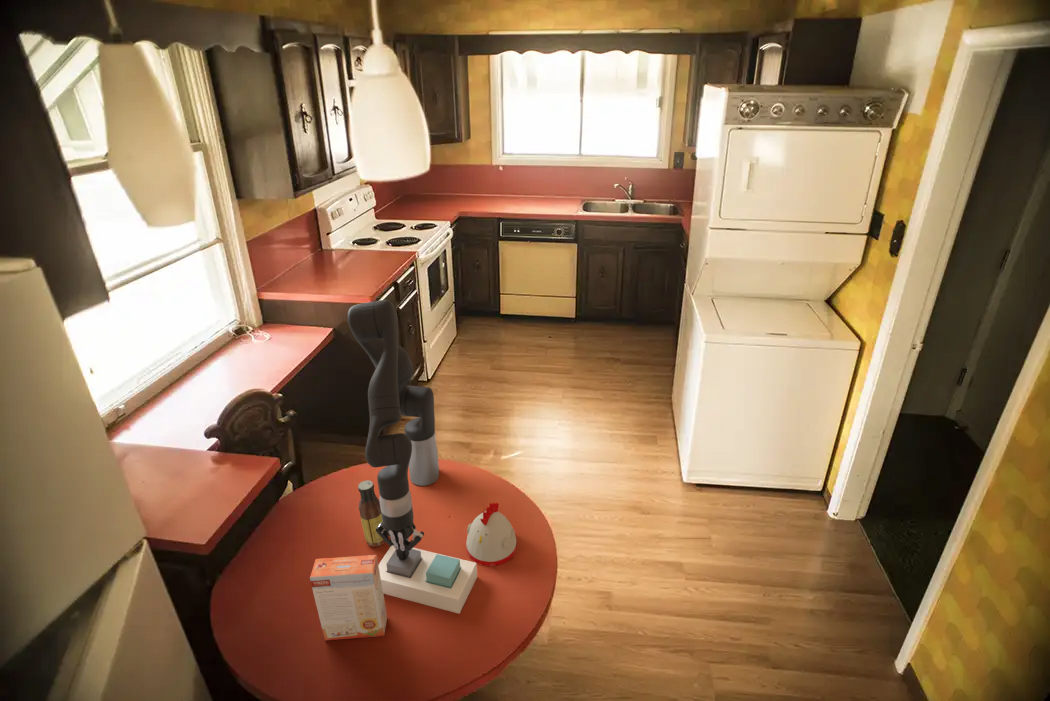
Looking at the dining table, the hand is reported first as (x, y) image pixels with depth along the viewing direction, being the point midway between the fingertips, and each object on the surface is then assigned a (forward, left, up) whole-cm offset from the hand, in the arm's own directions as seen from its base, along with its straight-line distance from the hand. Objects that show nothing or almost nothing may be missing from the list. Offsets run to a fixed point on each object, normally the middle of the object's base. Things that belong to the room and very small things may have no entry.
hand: (403, 557), depth 153 cm
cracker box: (+17, -5, -8) cm, 19 cm away
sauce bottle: (-10, -15, -8) cm, 19 cm away
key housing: (0, +5, -8) cm, 9 cm away
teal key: (0, +11, -4) cm, 12 cm away
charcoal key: (0, 0, -4) cm, 4 cm away
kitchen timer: (-17, +17, -8) cm, 26 cm away
